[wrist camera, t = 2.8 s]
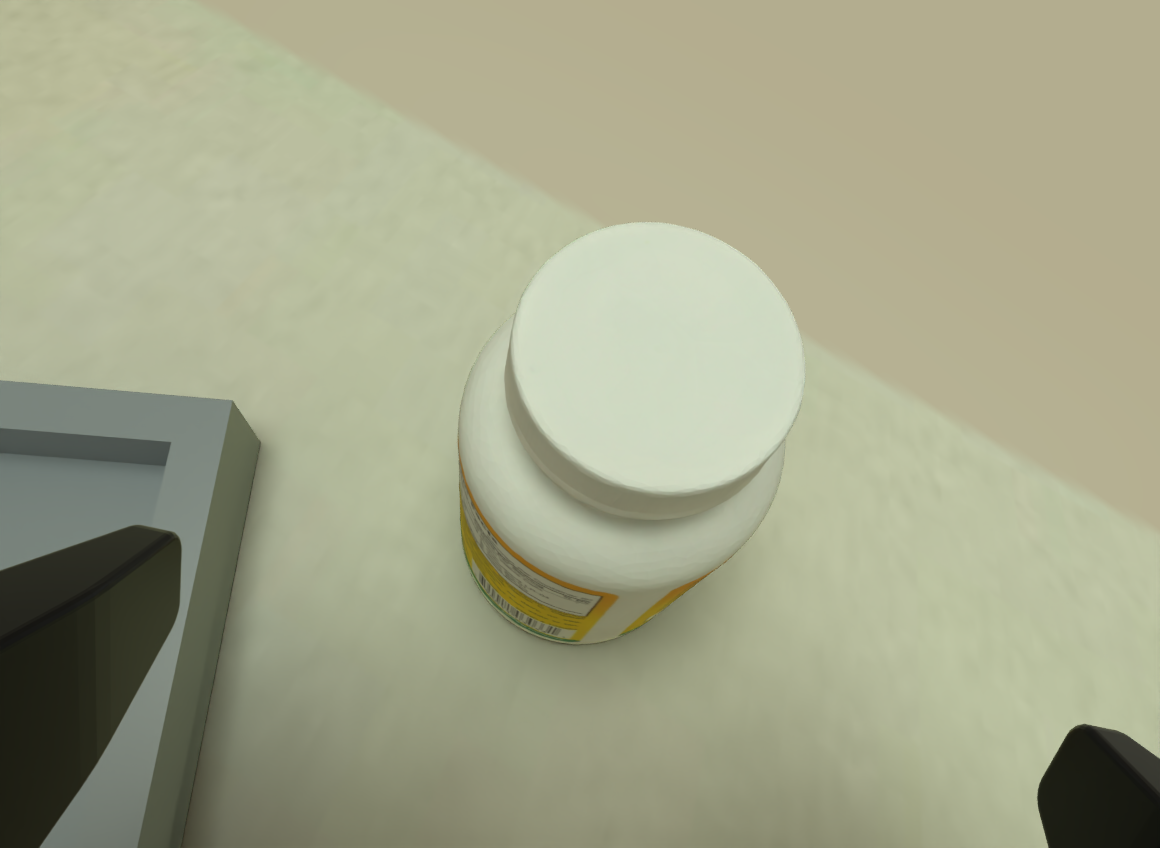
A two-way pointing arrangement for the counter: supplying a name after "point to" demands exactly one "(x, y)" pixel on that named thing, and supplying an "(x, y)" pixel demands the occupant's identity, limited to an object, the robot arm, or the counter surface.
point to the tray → (111, 502)
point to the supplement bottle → (624, 429)
